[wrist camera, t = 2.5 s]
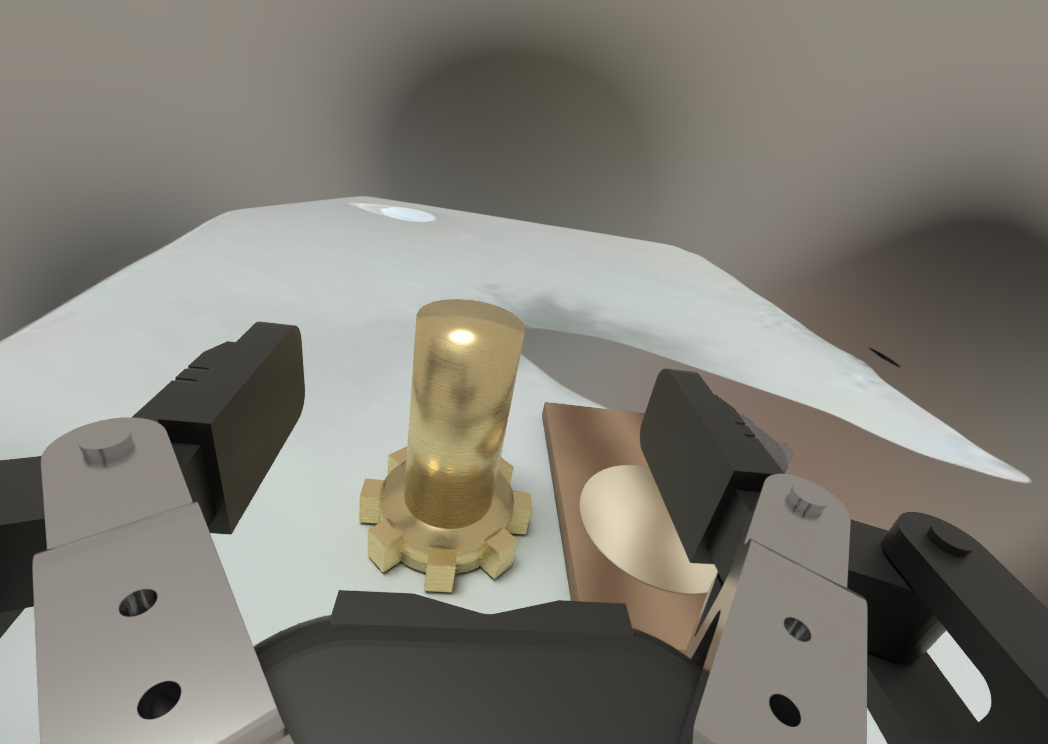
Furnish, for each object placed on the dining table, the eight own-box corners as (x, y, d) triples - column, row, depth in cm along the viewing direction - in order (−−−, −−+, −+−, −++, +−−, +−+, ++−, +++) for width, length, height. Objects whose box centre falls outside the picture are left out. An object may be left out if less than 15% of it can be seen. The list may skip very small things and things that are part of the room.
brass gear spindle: (340, 585, 24) (335, 358, 18) (378, 458, 32) (384, 271, 26) (530, 596, 25) (590, 388, 19) (520, 471, 34) (559, 296, 27)
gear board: (581, 660, 23) (587, 643, 22) (542, 414, 40) (545, 400, 40) (912, 673, 26) (928, 658, 25) (742, 436, 43) (748, 423, 42)
